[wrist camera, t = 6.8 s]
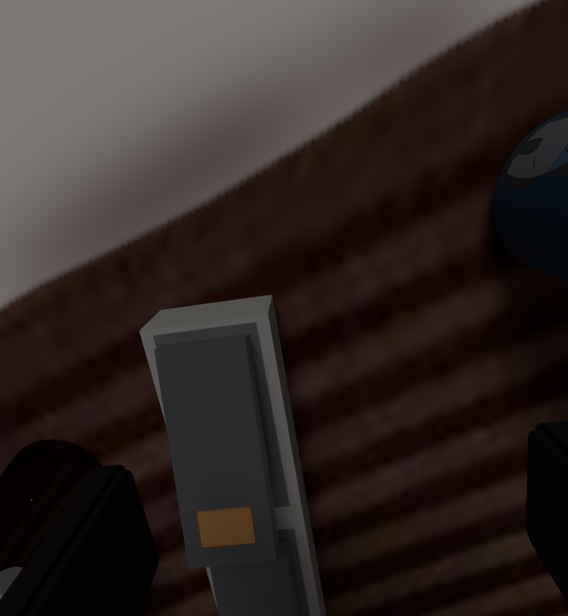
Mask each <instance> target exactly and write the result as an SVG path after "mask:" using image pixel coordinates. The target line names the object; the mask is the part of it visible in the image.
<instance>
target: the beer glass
mask: <svg viewBox="0 0 568 616" xmlns="http://www.w3.org/2000/svg"><path fill="white" fill-rule="evenodd" d="M100 466H101V465H100V464H99V463H98V461H97V460H96V459H95V458H94V457H93V456H92V455H91V454H89V453H88V452H87V451H85V450H84V449H82V448H80V447H78V446H76V445H74V444H71V443H68V442H64V441H59V440H41V441H37V442H33V443H31V444H29V445H27V446H25V447H24V448H22V449H21V450H20V451H19V452H18V453H17V454H16V455H15V456H14V457H13V459H12V460H11V461H10V463H9V464H8V466H7V467H6V469H5V470H4V472H3V473H2V475H1V476H0V599H1V597H2V596H3V595H4V593H5V592H6V591H7V589H8V588H9V586H10V585H11V584H12V582H13V581H14V580H15V578H16V577H17V575H18V574H19V573H20V571H21V570H22V569H23V567H24V566H25V564H26V563H27V562H28V560H29V559H30V557H31V556H32V555H33V553H34V552H35V551H36V549H37V548H38V546H39V545H40V544H41V542H42V541H43V540H44V538H45V537H46V535H47V534H48V533H49V531H50V530H51V529H52V527H53V526H54V524H55V523H56V522H57V520H58V519H59V518H60V516H61V515H62V513H63V512H64V511H65V509H66V508H67V507H68V505H69V504H70V502H71V501H72V500H73V498H74V497H75V495H76V494H77V493H78V491H79V490H80V489H81V487H82V486H83V484H84V483H85V482H86V480H87V479H88V478H89V476H90V475H91V473H92V472H93V471H94V470H95V469H96V468H97V467H100Z"/></svg>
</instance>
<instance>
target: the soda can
mask: <svg viewBox="0 0 568 616" xmlns="http://www.w3.org/2000/svg"><path fill="white" fill-rule="evenodd" d="M493 215H494V221H495V225H496V229H497V232H498V234H499V236H500V238H501V240H502V242H503V243H504V245H505V246H506V248H507V249H508V250H509V251H510V252H511V253H512V254H513V255H514V256H515V257H516V258H517V259H518V260H520V261H521V262H523V263H525V264H526V265H528V266H530V267H533V268H535V269H538V270H540V271H543V272H545V273H548V274H550V275H553V276H555V277H558V278H560V279H563V280H565V281H568V112H565V113H562V114H560V115H557V116H555V117H553V118H551V119H549V120H548V121H546V122H544V123H543V124H541V125H540V126H538V127H537V128H535V129H534V130H533V131H532V132H530V133H529V134H528V135H527V136H526V137H525V138H524V139H523V140H522V141H521V142H520V143H519V144H518V145H517V147H516V148H515V149H514V150H513V152H512V153H511V154H510V156H509V157H508V159H507V161H506V162H505V164H504V166H503V168H502V170H501V172H500V175H499V177H498V180H497V183H496V187H495V192H494V199H493Z"/></svg>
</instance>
